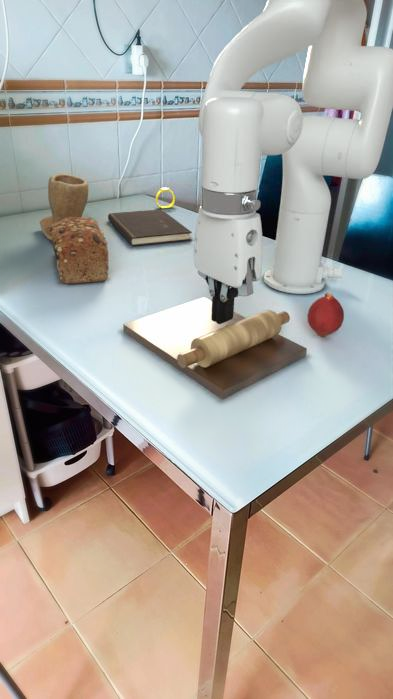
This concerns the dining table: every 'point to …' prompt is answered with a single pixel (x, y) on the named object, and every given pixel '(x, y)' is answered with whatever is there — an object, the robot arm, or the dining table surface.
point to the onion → (325, 315)
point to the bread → (79, 250)
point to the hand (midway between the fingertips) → (222, 319)
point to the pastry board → (195, 320)
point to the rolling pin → (233, 339)
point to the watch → (165, 191)
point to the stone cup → (64, 199)
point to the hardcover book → (149, 227)
